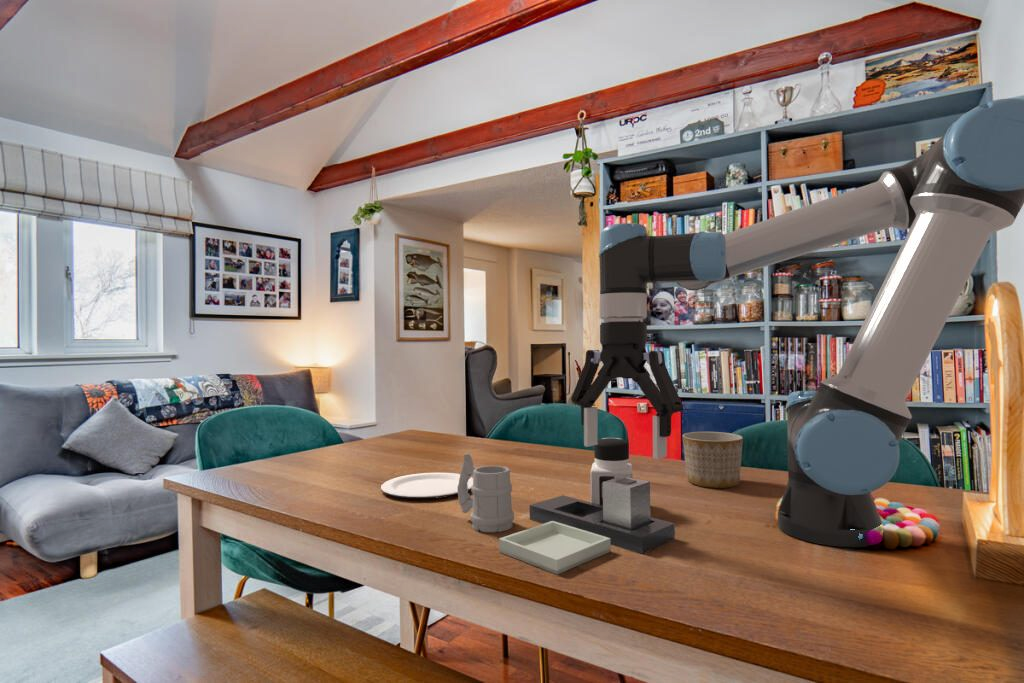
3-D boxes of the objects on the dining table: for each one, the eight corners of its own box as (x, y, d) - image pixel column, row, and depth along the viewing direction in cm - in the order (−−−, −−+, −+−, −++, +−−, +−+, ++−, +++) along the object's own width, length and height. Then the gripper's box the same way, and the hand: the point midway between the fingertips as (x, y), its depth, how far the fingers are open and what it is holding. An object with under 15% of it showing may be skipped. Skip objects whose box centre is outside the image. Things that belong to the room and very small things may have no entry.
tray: (610, 551, 85) (610, 538, 85) (557, 574, 77) (556, 559, 77) (552, 532, 94) (552, 520, 94) (499, 551, 86) (498, 538, 86)
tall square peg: (650, 537, 91) (649, 480, 91) (631, 545, 88) (630, 486, 88) (623, 529, 95) (622, 475, 95) (603, 537, 92) (602, 480, 92)
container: (633, 513, 104) (631, 443, 104) (590, 511, 106) (589, 442, 106) (632, 501, 112) (631, 436, 112) (593, 500, 113) (592, 435, 113)
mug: (495, 536, 93) (494, 463, 93) (444, 523, 100) (443, 455, 100) (523, 524, 99) (522, 456, 99) (473, 512, 106) (472, 449, 106)
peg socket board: (674, 538, 90) (674, 523, 90) (642, 554, 84) (642, 537, 84) (563, 508, 108) (562, 495, 108) (529, 518, 102) (529, 505, 102)
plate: (494, 492, 121) (494, 484, 121) (404, 510, 110) (404, 501, 110) (449, 474, 139) (448, 467, 139) (366, 488, 127) (366, 480, 127)
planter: (748, 480, 127) (747, 433, 127) (737, 493, 117) (736, 442, 117) (691, 474, 134) (690, 430, 134) (676, 485, 123) (675, 438, 123)
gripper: (706, 319, 85) (706, 459, 85) (579, 323, 103) (579, 438, 103) (679, 318, 80) (680, 467, 80) (551, 322, 98) (551, 443, 98)
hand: (623, 451), depth 92 cm, fingers open, 13 cm apart
